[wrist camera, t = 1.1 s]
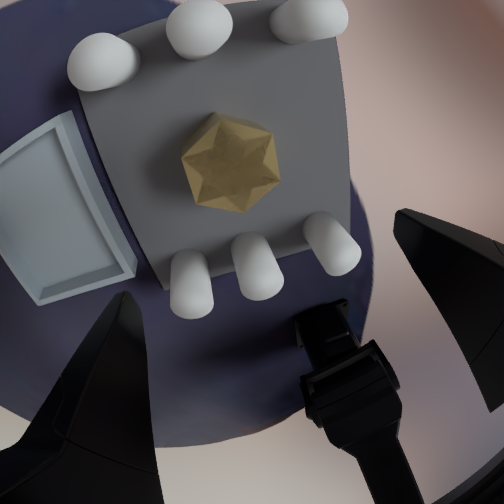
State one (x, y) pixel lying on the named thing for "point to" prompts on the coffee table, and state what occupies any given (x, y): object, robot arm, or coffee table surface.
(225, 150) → the tan faceted polyhedron
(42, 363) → the coffee table surface
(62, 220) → the nut tray
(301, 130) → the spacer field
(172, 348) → the coffee table surface
